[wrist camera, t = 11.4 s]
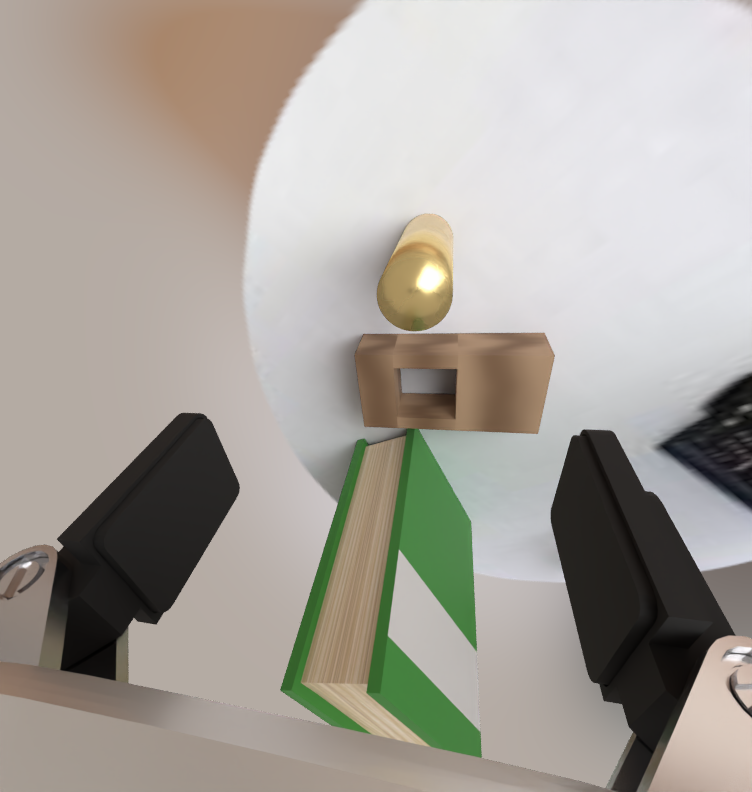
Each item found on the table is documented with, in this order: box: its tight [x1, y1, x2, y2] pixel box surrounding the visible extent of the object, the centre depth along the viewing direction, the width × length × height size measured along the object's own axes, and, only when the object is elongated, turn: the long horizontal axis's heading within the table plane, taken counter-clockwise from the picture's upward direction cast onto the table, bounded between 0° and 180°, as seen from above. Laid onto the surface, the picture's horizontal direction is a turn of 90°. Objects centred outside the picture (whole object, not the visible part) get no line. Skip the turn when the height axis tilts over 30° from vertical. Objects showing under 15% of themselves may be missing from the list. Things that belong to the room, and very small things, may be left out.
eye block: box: [355, 333, 555, 434], centre depth 34 cm, size 16×8×4 cm, turn 95°
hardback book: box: [280, 428, 482, 758], centre depth 36 cm, size 18×7×24 cm, turn 28°
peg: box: [377, 214, 453, 331], centre depth 24 cm, size 4×4×12 cm
